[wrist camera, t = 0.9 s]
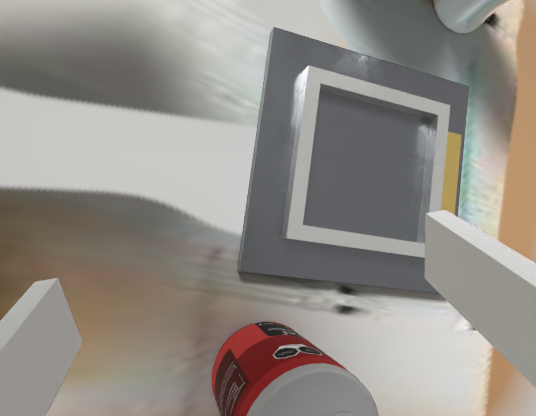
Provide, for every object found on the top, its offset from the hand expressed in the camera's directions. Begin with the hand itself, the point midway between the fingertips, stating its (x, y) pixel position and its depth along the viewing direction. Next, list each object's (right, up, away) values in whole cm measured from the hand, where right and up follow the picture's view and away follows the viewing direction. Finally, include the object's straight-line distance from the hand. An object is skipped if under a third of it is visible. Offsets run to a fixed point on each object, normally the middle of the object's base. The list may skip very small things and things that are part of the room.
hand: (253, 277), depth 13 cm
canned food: (0, -10, +17) cm, 20 cm away
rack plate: (+9, +6, +20) cm, 23 cm away
